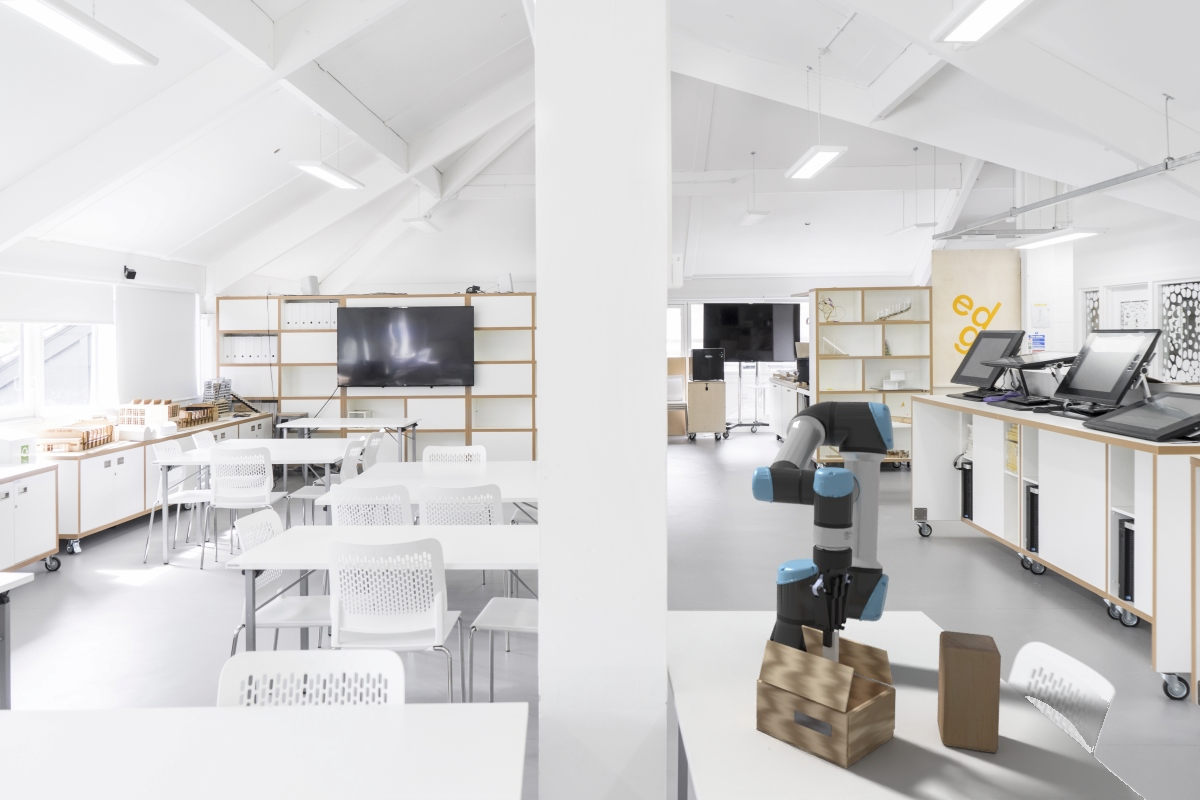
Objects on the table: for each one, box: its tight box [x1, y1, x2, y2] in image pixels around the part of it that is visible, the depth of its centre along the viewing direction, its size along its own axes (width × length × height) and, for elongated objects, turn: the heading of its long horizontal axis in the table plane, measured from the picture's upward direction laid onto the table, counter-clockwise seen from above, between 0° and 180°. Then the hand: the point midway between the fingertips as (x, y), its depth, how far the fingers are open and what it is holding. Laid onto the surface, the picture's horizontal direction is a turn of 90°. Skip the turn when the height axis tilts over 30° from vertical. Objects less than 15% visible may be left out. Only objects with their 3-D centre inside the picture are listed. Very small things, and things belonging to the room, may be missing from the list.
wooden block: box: [936, 630, 1002, 754], centre depth 152 cm, size 10×10×20 cm
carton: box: [755, 673, 897, 770], centre depth 154 cm, size 21×18×10 cm
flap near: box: [758, 639, 854, 712], centre depth 149 cm, size 19×1×8 cm, turn 42°
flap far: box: [802, 625, 894, 686], centre depth 159 cm, size 19×1×8 cm, turn 42°
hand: (830, 661), depth 155 cm, fingers closed
